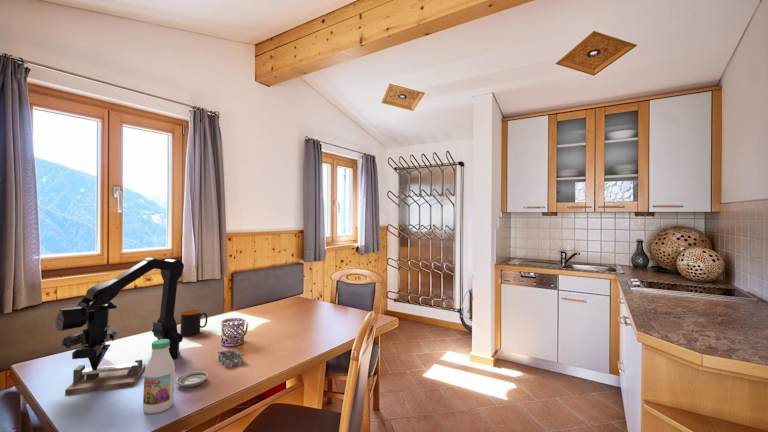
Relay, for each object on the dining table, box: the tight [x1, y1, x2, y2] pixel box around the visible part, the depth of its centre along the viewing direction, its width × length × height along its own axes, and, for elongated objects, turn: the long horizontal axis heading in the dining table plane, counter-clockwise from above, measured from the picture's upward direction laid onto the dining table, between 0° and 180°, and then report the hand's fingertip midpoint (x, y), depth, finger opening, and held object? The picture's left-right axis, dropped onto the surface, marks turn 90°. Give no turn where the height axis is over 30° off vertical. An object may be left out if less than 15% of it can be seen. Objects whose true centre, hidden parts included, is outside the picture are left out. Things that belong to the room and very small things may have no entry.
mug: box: [179, 309, 208, 338], centre depth 164 cm, size 8×12×10 cm
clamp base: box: [64, 359, 147, 395], centre depth 116 cm, size 18×14×6 cm
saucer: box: [175, 370, 209, 388], centre depth 116 cm, size 10×10×2 cm
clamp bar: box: [82, 362, 140, 375], centre depth 116 cm, size 16×3×1 cm, turn 112°
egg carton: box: [216, 349, 244, 368], centre depth 134 cm, size 11×8×4 cm
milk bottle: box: [142, 339, 176, 415], centre depth 101 cm, size 8×8×20 cm
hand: (94, 369), depth 115 cm, fingers closed, pressing on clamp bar
